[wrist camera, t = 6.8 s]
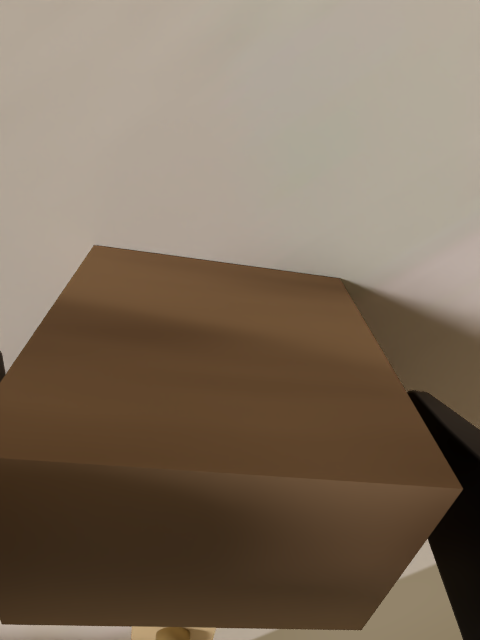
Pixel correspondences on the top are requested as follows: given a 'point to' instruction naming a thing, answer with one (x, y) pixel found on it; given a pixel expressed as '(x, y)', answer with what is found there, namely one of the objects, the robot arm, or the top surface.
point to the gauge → (208, 455)
